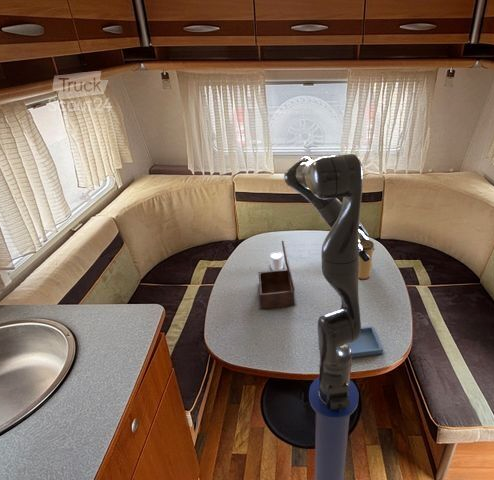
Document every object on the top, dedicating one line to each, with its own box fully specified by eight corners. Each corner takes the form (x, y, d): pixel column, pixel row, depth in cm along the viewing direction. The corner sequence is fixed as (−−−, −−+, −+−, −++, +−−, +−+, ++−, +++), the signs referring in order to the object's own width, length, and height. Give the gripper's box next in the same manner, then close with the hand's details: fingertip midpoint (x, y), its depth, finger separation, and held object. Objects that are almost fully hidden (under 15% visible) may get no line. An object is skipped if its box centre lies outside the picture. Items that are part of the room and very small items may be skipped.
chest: (261, 308, 147) (259, 295, 143) (259, 285, 160) (258, 271, 157) (294, 305, 149) (293, 291, 145) (290, 282, 162) (289, 268, 158)
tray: (382, 353, 127) (382, 349, 126) (339, 359, 125) (339, 355, 124) (372, 329, 137) (372, 325, 136) (332, 334, 135) (332, 330, 134)
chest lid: (285, 262, 137) (287, 262, 137) (281, 241, 150) (283, 240, 150) (292, 291, 145) (294, 290, 145) (288, 268, 158) (290, 267, 158)
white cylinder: (281, 262, 176) (280, 250, 172) (286, 269, 170) (286, 257, 167) (267, 265, 173) (267, 253, 169) (273, 273, 168) (272, 261, 164)
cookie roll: (364, 282, 115) (368, 250, 108) (351, 276, 117) (354, 244, 111) (373, 275, 118) (376, 243, 111) (360, 269, 121) (363, 237, 114)
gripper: (335, 211, 118) (367, 249, 120) (319, 231, 107) (355, 272, 109) (351, 199, 114) (384, 239, 116) (336, 218, 103) (373, 262, 105)
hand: (370, 255), depth 113 cm, fingers closed on cookie roll, 5 cm apart
